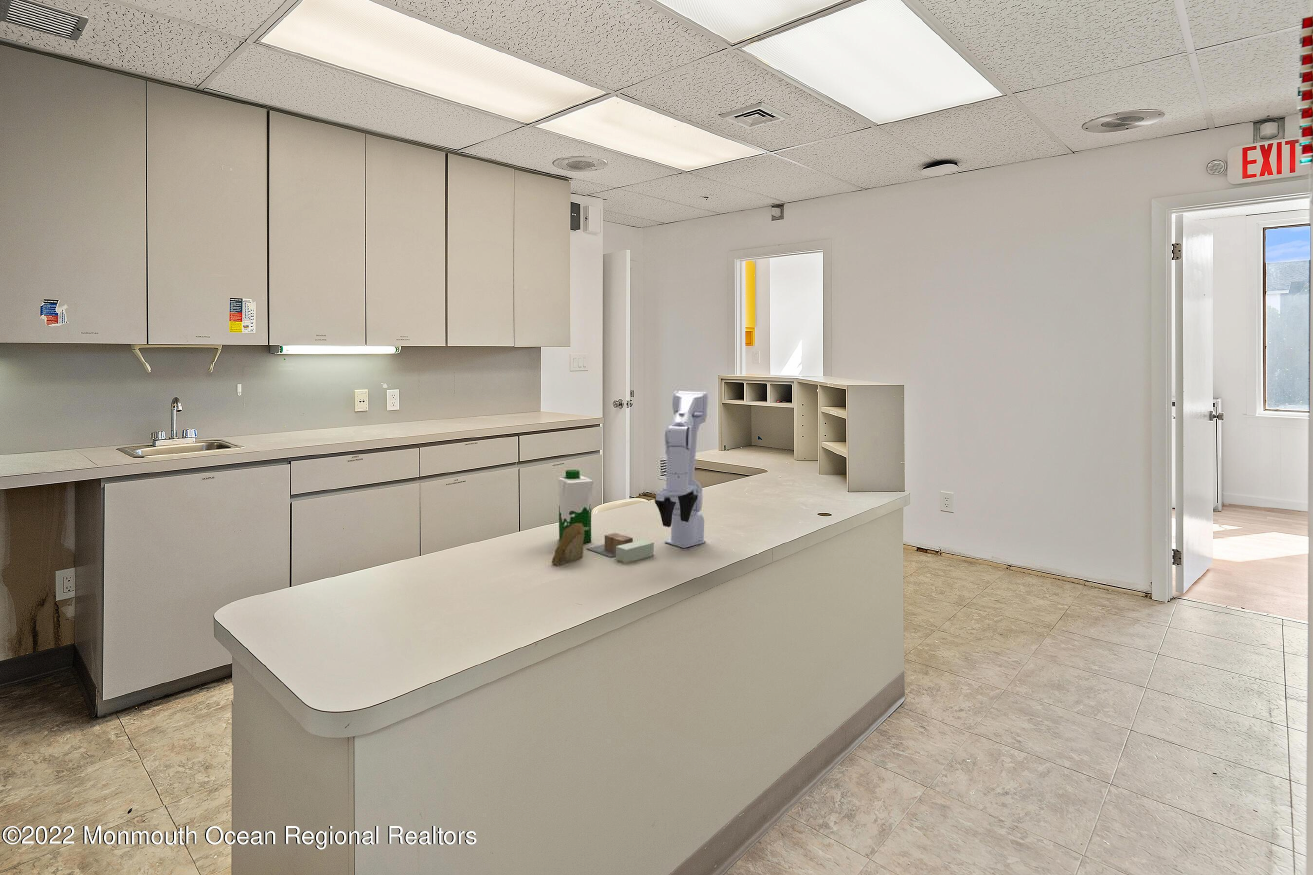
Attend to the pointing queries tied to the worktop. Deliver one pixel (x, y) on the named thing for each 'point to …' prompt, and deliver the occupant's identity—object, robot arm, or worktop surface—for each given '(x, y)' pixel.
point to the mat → (602, 551)
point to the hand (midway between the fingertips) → (675, 523)
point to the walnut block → (615, 541)
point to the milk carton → (575, 502)
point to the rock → (570, 545)
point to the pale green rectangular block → (634, 551)
